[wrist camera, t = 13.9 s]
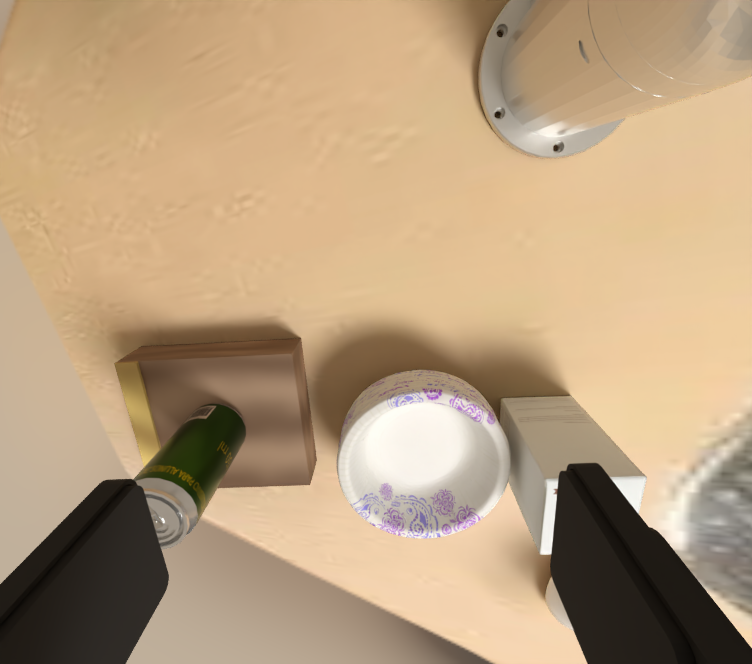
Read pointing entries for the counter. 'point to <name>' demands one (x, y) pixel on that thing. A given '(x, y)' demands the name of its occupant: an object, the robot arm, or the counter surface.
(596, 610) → the robot arm
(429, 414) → the paper bowls
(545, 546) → the supplement box
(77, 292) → the counter surface
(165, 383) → the gold striped gift box
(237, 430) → the beer can
